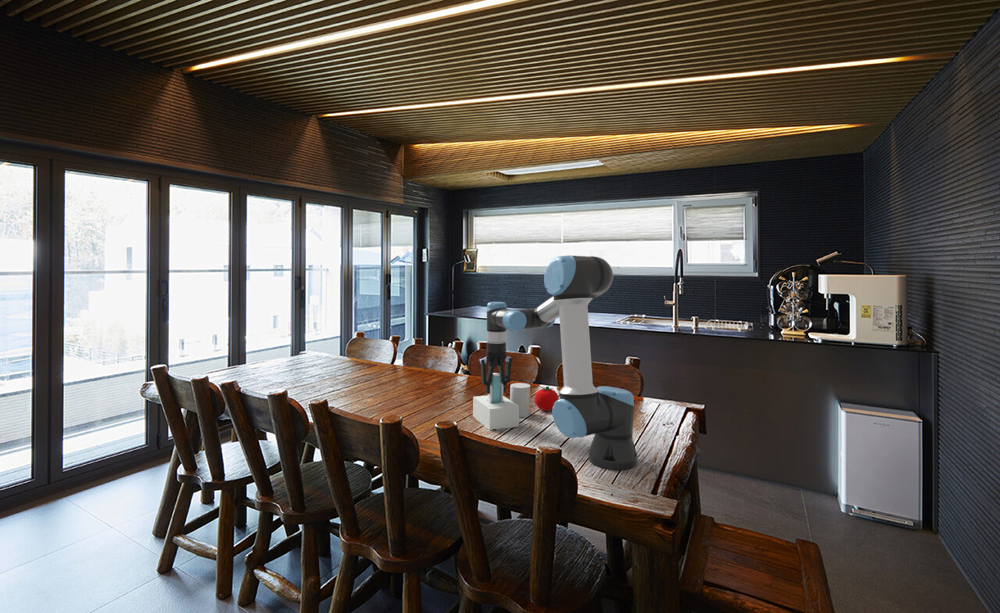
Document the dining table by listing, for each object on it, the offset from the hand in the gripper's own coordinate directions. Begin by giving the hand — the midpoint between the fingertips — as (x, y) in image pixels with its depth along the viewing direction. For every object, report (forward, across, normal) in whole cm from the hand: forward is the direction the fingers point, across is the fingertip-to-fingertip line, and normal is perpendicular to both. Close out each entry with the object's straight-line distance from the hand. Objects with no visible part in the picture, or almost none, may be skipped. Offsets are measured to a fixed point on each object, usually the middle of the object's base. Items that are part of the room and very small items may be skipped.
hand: (495, 400), depth 192 cm
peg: (+4, 0, 0) cm, 4 cm away
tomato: (+8, -26, -6) cm, 28 cm away
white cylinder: (+8, -13, -5) cm, 16 cm away
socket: (+8, 0, 0) cm, 8 cm away
